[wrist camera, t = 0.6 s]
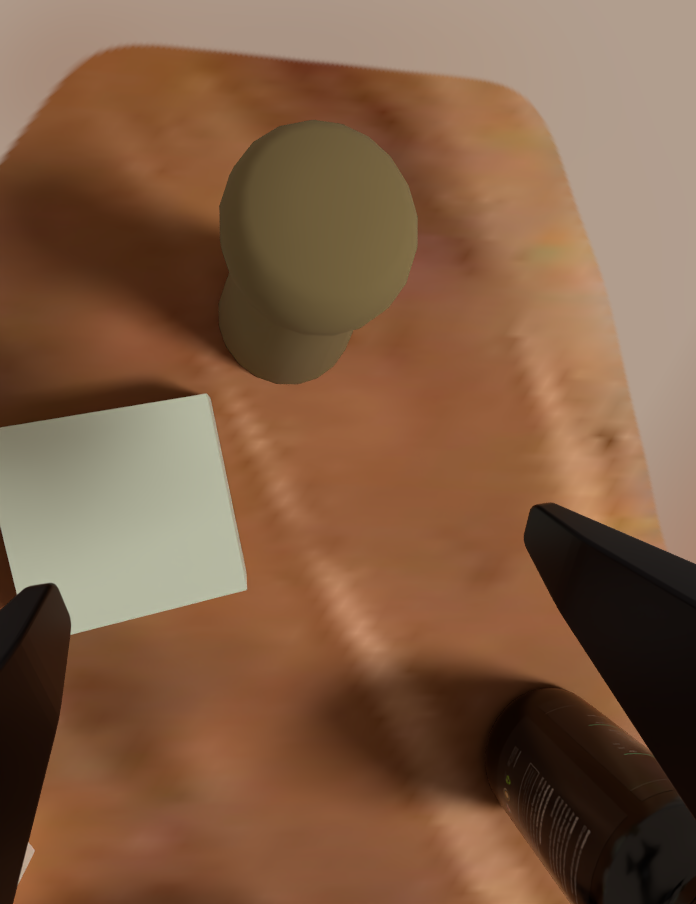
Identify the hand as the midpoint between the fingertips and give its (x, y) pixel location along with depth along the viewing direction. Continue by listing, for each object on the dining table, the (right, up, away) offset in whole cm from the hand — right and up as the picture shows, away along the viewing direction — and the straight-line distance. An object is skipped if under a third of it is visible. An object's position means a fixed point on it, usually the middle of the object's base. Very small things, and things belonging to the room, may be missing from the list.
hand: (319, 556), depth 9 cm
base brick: (-9, 0, +12) cm, 14 cm away
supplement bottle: (+11, -14, +17) cm, 24 cm away
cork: (-2, +8, +13) cm, 15 cm away
